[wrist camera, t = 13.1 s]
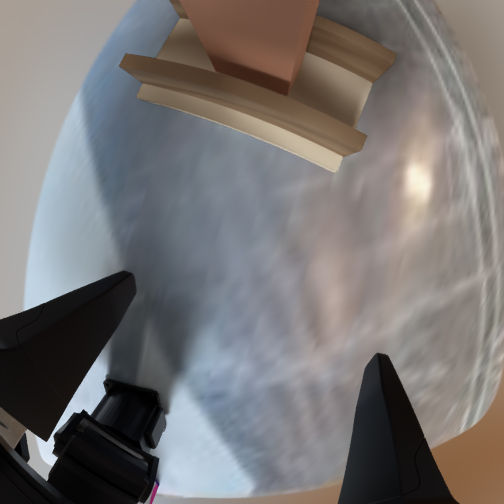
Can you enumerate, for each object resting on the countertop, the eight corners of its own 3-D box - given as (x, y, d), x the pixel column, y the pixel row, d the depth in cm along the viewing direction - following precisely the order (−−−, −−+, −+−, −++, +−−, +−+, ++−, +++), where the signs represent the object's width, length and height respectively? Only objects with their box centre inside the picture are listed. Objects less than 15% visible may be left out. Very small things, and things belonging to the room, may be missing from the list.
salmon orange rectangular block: (287, 96, 17) (309, -9, 6) (215, 71, 17) (160, -33, 5) (301, 65, 17) (332, -46, 5) (231, 42, 16) (196, -69, 5)
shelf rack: (333, 172, 19) (353, 169, 14) (141, 100, 19) (110, 81, 14) (375, 67, 17) (400, 42, 12) (195, 6, 16) (180, -26, 11)
